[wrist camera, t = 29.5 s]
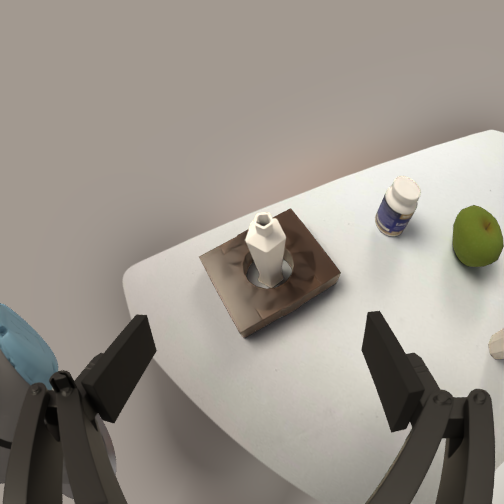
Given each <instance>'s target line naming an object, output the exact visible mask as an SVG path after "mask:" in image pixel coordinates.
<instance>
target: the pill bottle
mask: <svg viewBox="0 0 504 504" xmlns="http://www.w3.org/2000/svg"><path fill="white" fill-rule="evenodd" d="M420 194H421V191H420V188H419V186H418V184H417V183H416V182H415V181H413V180H412V179H410V178H408V177H405V176H399V177H397V178H396V179H395V180H394V182H393V184H392V186H391V187H389V188H388V190H387V191H386V193H385V195H384V198H383V200H382V202H381V205H380V207H379V209H378V211H377V214H376V217H375V222H376V225H377V227H378V228H379V230H380V231H381V232H383V233H384V234H386V235H388V236H397V235H399V234H401V233H402V232H403V230H404V228H405V227H406V225H407V224H408V222H409V220H410V219H411V217H412V215H413V214H414V212H415V210H416V208H417V201H418V199H419V197H420Z"/></svg>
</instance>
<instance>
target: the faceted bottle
mask: <svg viewBox="0 0 504 504" xmlns="http://www.w3.org/2000/svg"><path fill="white" fill-rule="evenodd" d="M488 345H489V350H490V354H491V355H492V356H493V357H494V358H495V359H504V328H503V329H502V330H500V331H499V332H497V333H495V334H494V335H492V337H491V339H490V341H489V344H488Z"/></svg>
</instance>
